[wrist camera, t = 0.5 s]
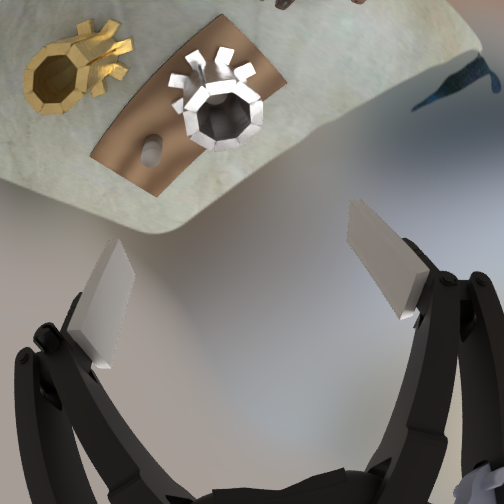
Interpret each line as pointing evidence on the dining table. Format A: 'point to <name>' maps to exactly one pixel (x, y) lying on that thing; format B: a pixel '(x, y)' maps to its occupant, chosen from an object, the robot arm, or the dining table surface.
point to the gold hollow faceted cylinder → (75, 67)
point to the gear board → (175, 112)
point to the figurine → (282, 3)
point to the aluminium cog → (221, 115)
